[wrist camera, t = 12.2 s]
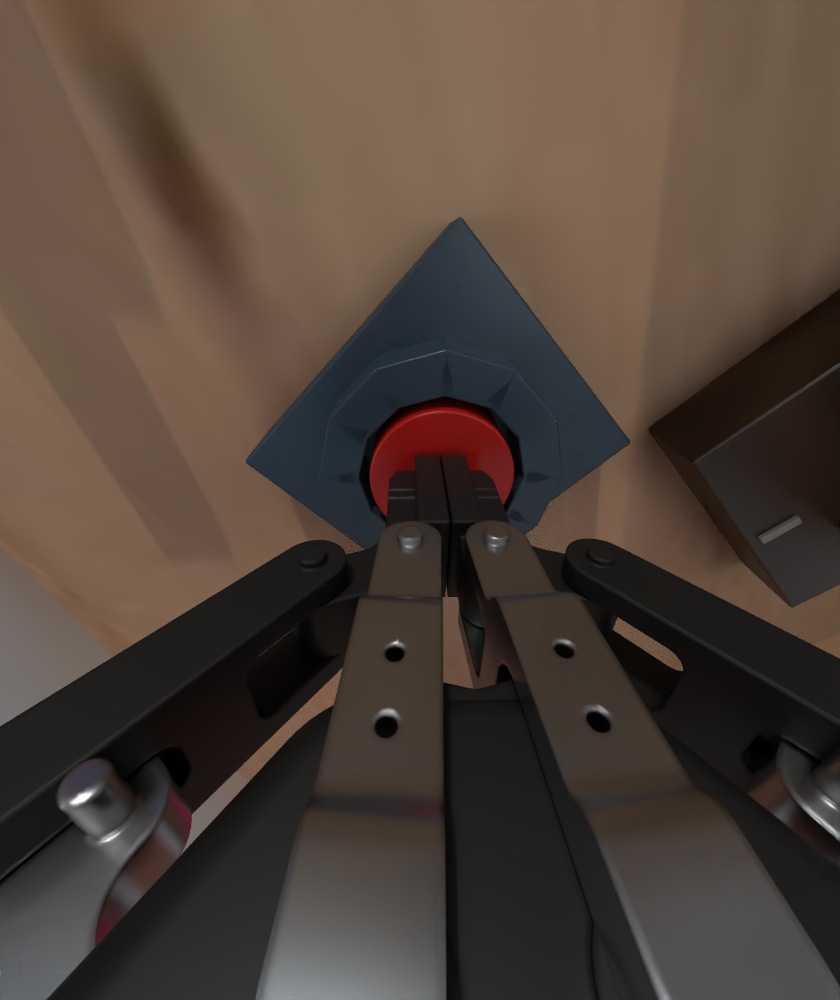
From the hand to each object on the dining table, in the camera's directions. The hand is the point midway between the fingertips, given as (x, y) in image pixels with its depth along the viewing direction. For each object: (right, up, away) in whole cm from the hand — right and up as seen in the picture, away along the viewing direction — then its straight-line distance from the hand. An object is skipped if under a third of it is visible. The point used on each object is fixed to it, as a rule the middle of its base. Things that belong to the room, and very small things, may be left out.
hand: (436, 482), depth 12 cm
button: (0, +1, +1) cm, 2 cm away
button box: (0, +2, +4) cm, 4 cm away
